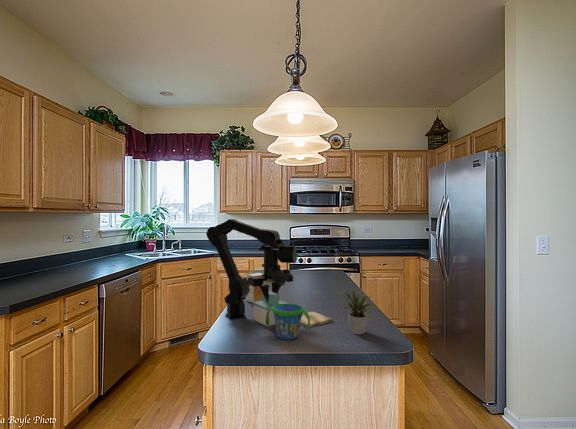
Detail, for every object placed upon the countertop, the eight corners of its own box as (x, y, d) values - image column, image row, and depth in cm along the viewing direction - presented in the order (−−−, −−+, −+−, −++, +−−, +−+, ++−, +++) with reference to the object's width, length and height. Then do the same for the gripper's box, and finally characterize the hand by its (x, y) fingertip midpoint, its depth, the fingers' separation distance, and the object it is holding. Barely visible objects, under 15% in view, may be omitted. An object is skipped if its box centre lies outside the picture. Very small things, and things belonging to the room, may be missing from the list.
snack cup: (313, 334, 117) (313, 305, 117) (303, 345, 107) (304, 314, 107) (273, 328, 123) (273, 301, 123) (260, 338, 113) (260, 308, 113)
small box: (253, 303, 158) (253, 276, 158) (245, 300, 163) (245, 274, 163) (266, 300, 164) (266, 274, 164) (258, 298, 168) (258, 272, 168)
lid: (266, 313, 125) (266, 297, 125) (252, 307, 133) (252, 292, 133) (288, 308, 131) (288, 293, 131) (274, 303, 140) (274, 288, 140)
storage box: (266, 326, 125) (266, 310, 125) (253, 319, 133) (253, 304, 133) (288, 321, 131) (288, 306, 131) (274, 315, 139) (274, 300, 139)
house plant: (326, 331, 120) (327, 286, 120) (346, 322, 130) (346, 281, 130) (362, 341, 110) (362, 292, 110) (380, 330, 121) (381, 286, 121)
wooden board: (306, 327, 124) (306, 324, 124) (288, 319, 134) (288, 316, 134) (332, 321, 132) (332, 318, 132) (312, 313, 141) (312, 311, 141)
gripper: (261, 266, 120) (261, 309, 120) (301, 262, 131) (301, 301, 131) (246, 262, 129) (246, 302, 129) (285, 259, 140) (285, 296, 140)
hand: (270, 300), depth 132 cm, fingers closed on lid, 3 cm apart
